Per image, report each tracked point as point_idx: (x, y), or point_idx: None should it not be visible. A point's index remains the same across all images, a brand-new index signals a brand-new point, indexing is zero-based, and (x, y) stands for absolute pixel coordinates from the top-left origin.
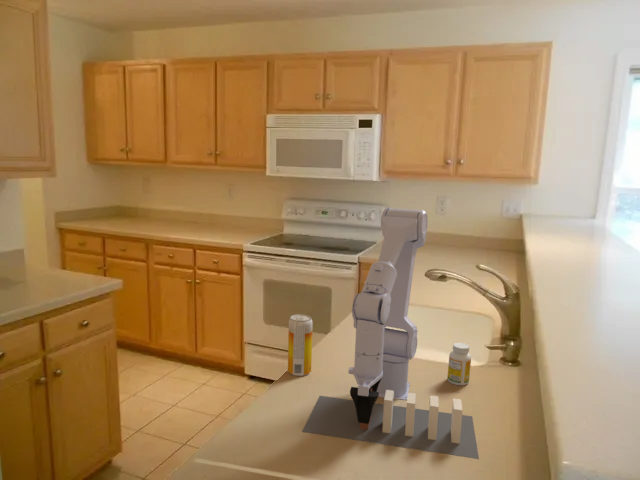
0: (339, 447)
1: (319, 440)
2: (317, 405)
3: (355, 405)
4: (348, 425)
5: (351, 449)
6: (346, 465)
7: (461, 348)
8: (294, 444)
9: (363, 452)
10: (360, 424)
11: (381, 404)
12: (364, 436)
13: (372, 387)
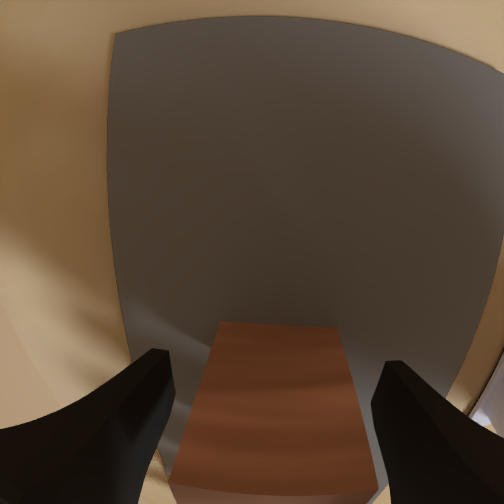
0: (71, 234)
1: (89, 132)
2: (423, 53)
3: (61, 410)
4: (235, 260)
5: (78, 284)
6: (11, 272)
7: None
8: (52, 51)
9: (82, 326)
10: (217, 334)
11: (453, 376)
12: (159, 339)
13: (404, 487)
